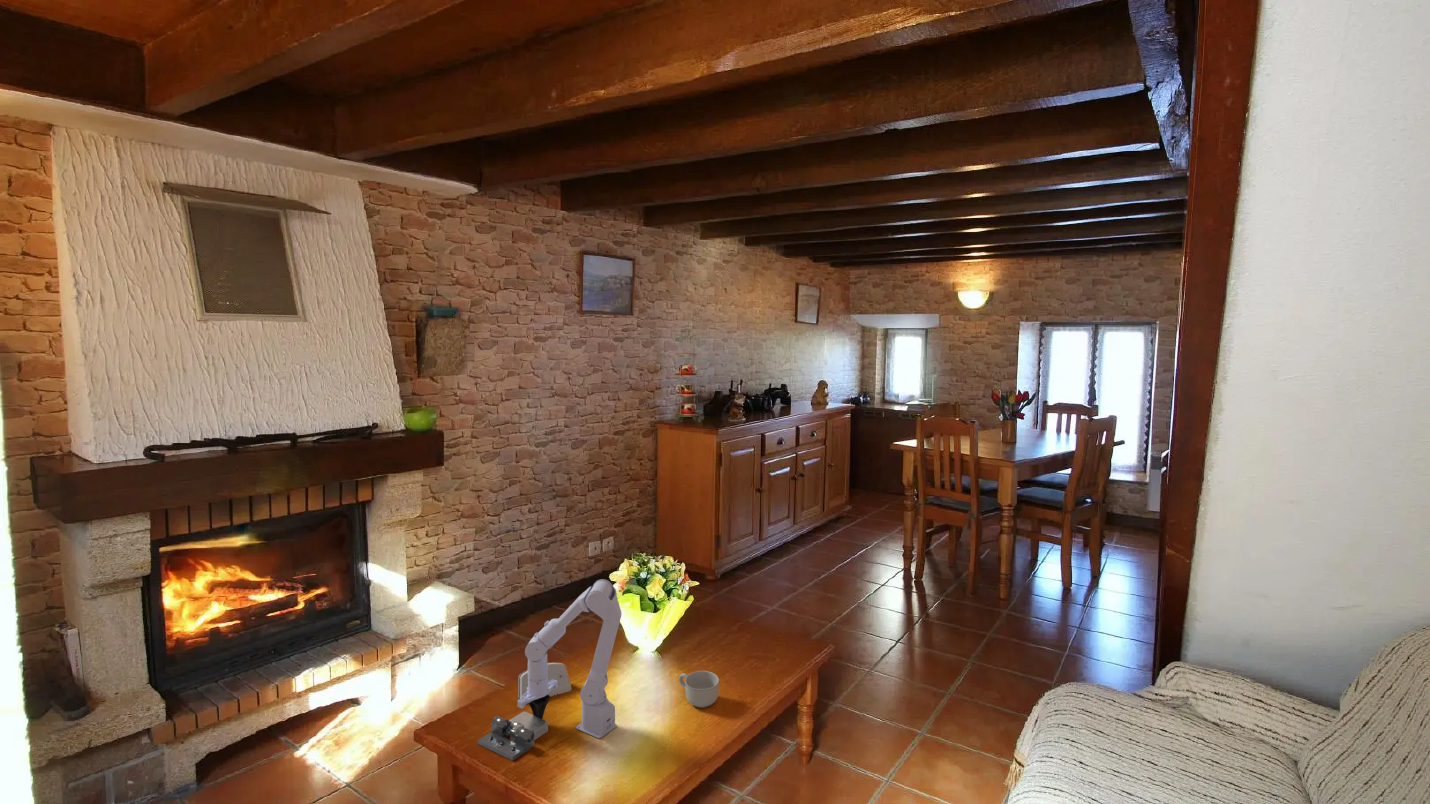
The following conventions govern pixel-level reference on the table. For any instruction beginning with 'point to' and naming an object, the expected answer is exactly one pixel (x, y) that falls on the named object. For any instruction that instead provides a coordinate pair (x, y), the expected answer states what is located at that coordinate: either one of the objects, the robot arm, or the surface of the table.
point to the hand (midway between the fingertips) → (538, 719)
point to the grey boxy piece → (528, 724)
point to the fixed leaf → (504, 746)
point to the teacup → (700, 687)
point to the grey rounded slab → (554, 672)
